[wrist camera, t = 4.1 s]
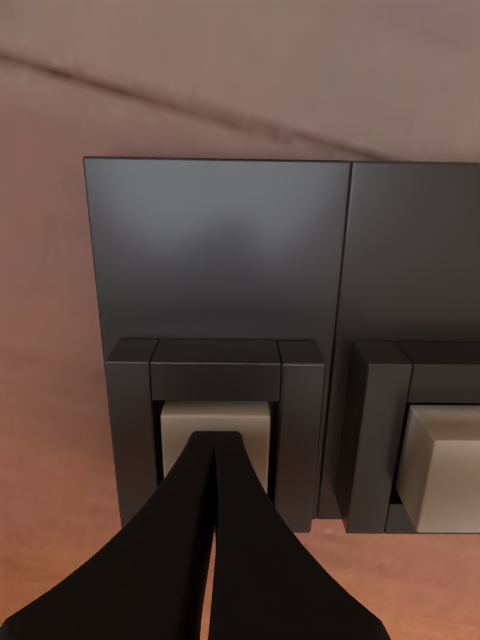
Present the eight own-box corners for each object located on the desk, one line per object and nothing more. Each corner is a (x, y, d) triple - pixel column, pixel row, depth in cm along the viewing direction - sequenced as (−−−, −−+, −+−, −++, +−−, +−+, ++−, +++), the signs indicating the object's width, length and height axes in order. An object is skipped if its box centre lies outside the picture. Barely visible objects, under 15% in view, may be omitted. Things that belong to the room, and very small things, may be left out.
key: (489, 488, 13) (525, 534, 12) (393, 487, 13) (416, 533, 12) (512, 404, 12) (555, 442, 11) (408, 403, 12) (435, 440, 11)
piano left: (306, 474, 17) (325, 559, 14) (134, 473, 17) (107, 558, 14) (333, 161, 13) (371, 160, 10) (107, 157, 13) (57, 155, 10)
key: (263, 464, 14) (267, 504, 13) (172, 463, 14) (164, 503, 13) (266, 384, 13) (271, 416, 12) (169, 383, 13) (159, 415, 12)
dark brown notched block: (476, 475, 18) (541, 560, 14) (306, 474, 17) (325, 559, 14) (554, 164, 13) (677, 165, 10) (333, 161, 13) (371, 160, 10)
